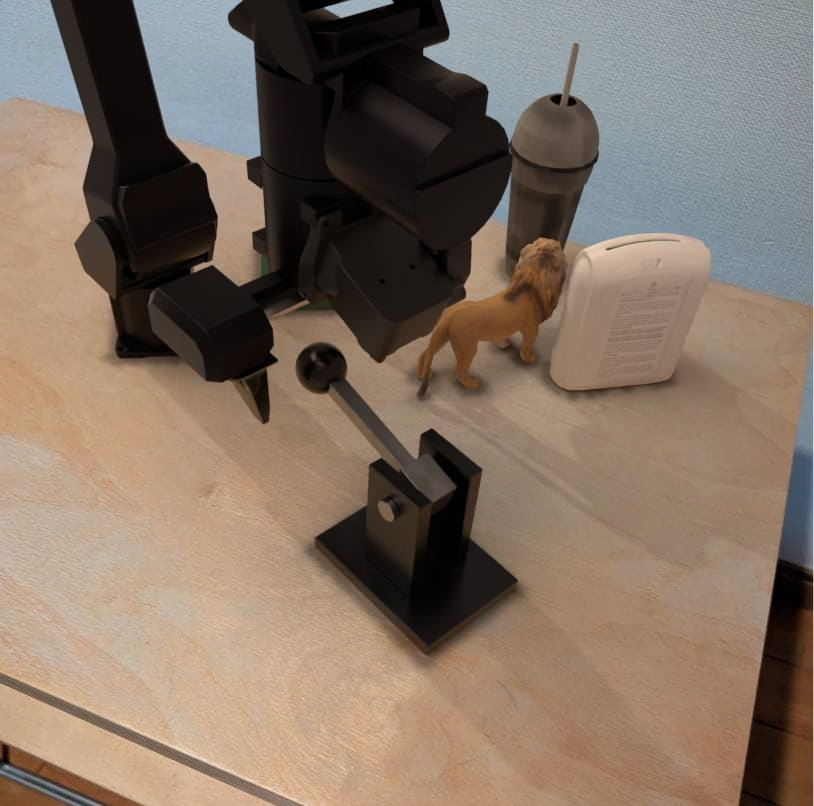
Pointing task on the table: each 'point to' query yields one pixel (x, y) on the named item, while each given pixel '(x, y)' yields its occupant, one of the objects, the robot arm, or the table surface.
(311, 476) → the table surface
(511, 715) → the table surface
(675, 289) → the photo printer
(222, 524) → the table surface
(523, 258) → the lion figurine
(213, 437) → the table surface
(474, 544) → the bracket
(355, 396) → the lever
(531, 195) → the beverage cup
